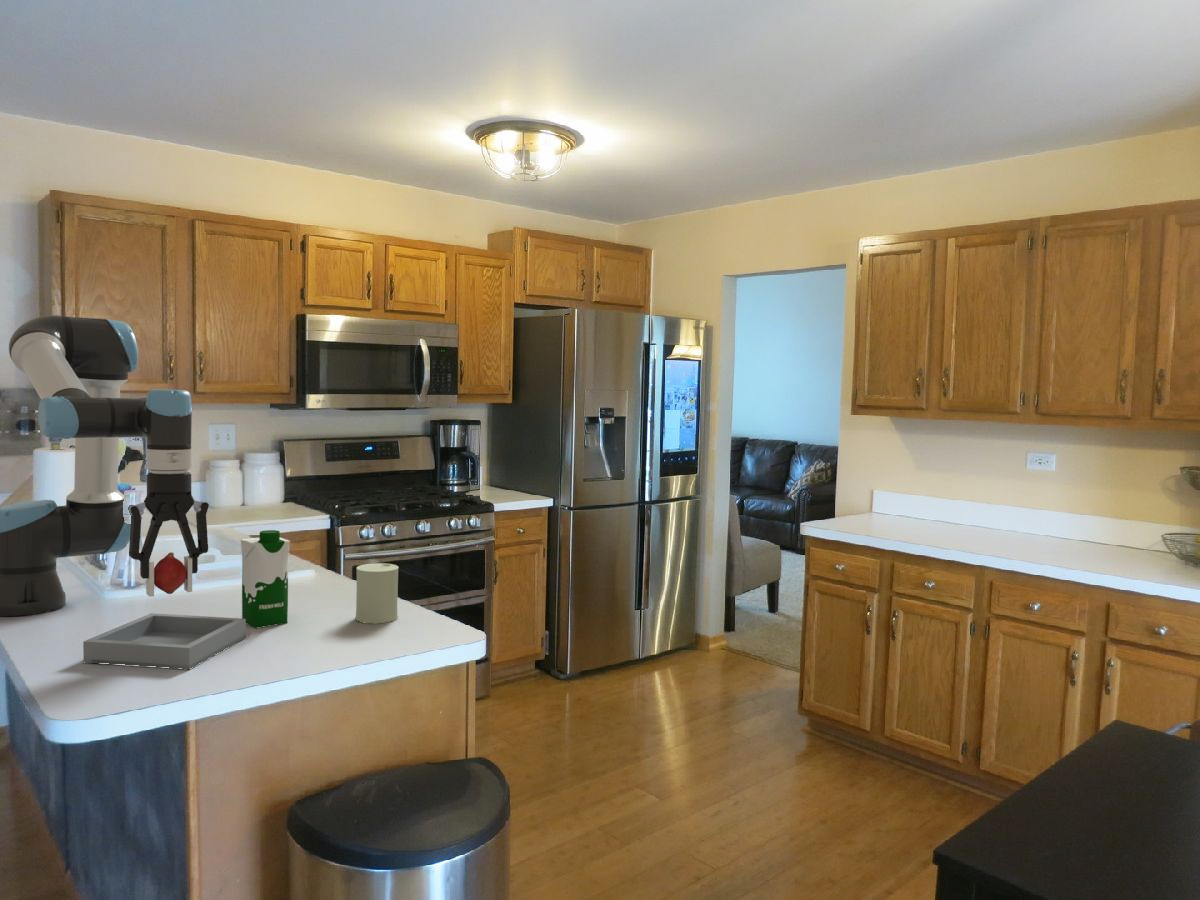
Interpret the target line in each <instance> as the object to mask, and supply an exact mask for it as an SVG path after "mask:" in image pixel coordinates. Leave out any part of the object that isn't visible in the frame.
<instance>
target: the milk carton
mask: <svg viewBox="0 0 1200 900" xmlns="http://www.w3.org/2000/svg"><path fill="white" fill-rule="evenodd" d="M280 532H281V531H280V530H275V529H274V530H271V529H269V530H267V529H266V530H260V531H259V537H253V538H252V537H251V538H242V539H240V545H241V562H242V563H241V569H242V570H241V619H246V625H249V626H250V625H251V626H250V627H252V626H253V627H252V628H254V627H255V629H258V628H257V627H260V628H264V627H263V626H265V627H270V626H269V625H271V626H276V625H275V624H277V625H282V624H281V623H283V624H287V623H288V619H289V618H288V612H289V610H288V609H289V556H290V555H289V553H290V545H291V540H288V539H285V538H283V537H281V536H280V535H281V533H280Z"/></svg>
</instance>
